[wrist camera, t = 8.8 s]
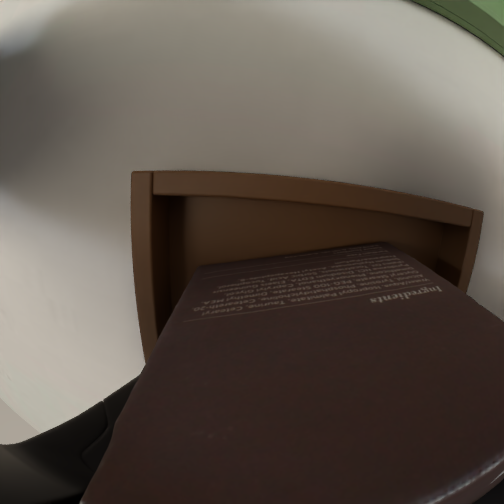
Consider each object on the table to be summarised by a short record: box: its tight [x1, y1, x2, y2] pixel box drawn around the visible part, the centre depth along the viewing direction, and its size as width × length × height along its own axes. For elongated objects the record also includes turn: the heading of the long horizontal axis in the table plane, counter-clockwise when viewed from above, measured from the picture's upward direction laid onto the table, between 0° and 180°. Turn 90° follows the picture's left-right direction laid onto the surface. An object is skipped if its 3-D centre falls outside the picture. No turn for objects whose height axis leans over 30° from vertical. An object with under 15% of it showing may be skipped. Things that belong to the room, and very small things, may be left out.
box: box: [79, 242, 504, 504], centre depth 5 cm, size 6×6×7 cm
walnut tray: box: [131, 171, 484, 363], centre depth 8 cm, size 10×10×2 cm
